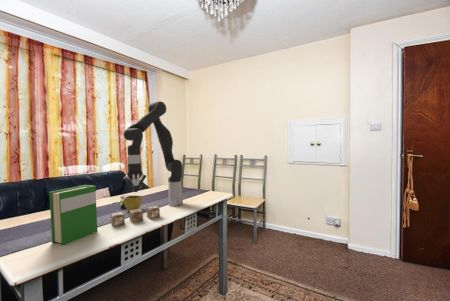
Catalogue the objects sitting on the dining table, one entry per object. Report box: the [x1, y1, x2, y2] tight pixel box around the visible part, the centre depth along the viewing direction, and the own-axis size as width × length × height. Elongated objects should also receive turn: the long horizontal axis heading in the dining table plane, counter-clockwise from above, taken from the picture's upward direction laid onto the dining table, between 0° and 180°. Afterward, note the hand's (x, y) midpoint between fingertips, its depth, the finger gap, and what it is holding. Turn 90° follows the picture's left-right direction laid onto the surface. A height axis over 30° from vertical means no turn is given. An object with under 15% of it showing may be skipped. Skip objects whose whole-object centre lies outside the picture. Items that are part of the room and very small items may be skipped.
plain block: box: [129, 208, 144, 224], centre depth 134 cm, size 6×6×6 cm
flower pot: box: [123, 195, 143, 212], centre depth 156 cm, size 9×9×9 cm
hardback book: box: [48, 184, 98, 246], centre depth 111 cm, size 18×7×24 cm, turn 159°
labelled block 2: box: [146, 205, 161, 220], centre depth 139 cm, size 6×6×6 cm
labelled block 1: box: [110, 211, 126, 228], centre depth 128 cm, size 6×6×6 cm
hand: (135, 191), depth 133 cm, fingers closed
